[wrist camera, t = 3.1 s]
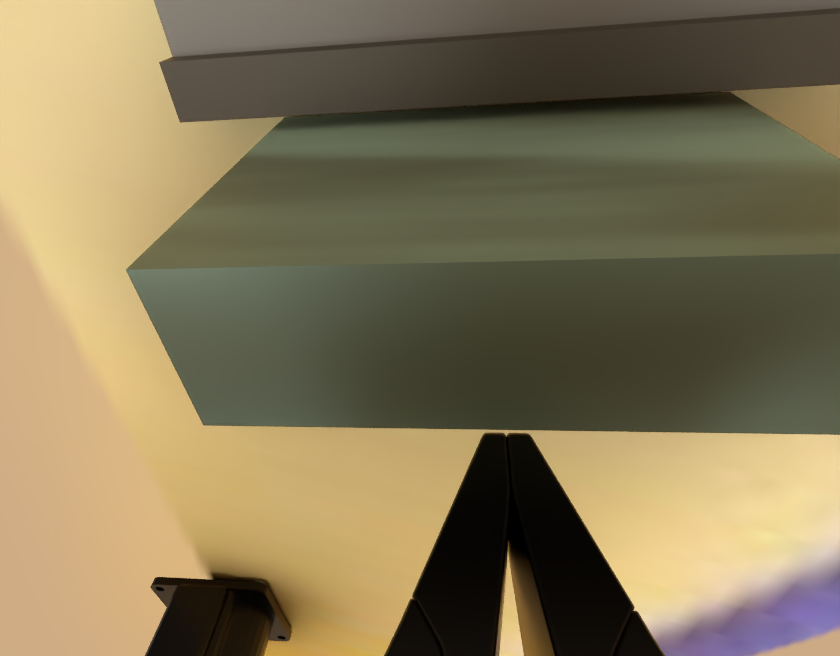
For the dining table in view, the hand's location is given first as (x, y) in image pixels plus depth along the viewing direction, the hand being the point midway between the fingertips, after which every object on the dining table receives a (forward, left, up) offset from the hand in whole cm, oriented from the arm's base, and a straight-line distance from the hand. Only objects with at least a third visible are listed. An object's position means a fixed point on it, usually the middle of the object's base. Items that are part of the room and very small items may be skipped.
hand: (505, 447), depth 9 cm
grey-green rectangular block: (+3, 0, -6) cm, 7 cm away
